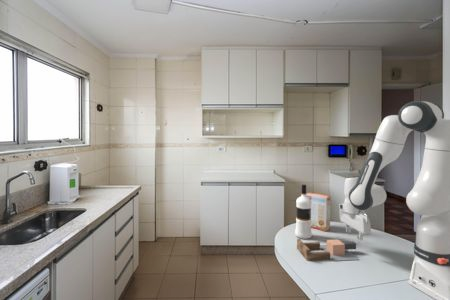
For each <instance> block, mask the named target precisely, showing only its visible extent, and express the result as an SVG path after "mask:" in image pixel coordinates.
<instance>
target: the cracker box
mask: <svg viewBox="0 0 450 300" xmlns="http://www.w3.org/2000/svg"><path fill="white" fill-rule="evenodd" d="M306 196H307V197H308V198H309V199H310V200H311V202H312V203H311V229H316V230H318V231H319V230H320V231H323V232H328V231H329V230H331V196H330V195H325V194H320V193H314V192H306Z"/></svg>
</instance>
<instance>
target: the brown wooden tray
mask: <svg viewBox="0 0 450 300" xmlns="http://www.w3.org/2000/svg"><path fill="white" fill-rule="evenodd" d="M320 245H321V243H320V242H319V241H316V242H315V241H313V242H310V241H309V242H303V240H301V238H297V239H296V249H297V251H298V252H299V253H300V254H301V255H302V256H303V258H304V259H305V260H306V261H320V260H321V261H323V260H324V259H325V260H331V257H330V252H324V251H316V252H315V251H314V252H311V251H312V250H320V249H321V248H320Z"/></svg>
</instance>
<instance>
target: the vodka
mask: <svg viewBox="0 0 450 300" xmlns="http://www.w3.org/2000/svg"><path fill="white" fill-rule="evenodd" d="M306 194H307V184H301V196H299V197H297V198H296V201H295V202H296V205H295V207H296V213H295V215H296V216H295V217H296V218H295V220H296V221H295V222H296V223H295V231H294V235H295V237H297V239H300V240H301V239H302V240H308V239H311V238H312V236H313V233H312V228H311V203H312V202H311V200H310V199H309V198H308V197H307V196H306Z"/></svg>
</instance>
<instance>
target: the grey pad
mask: <svg viewBox="0 0 450 300" xmlns="http://www.w3.org/2000/svg"><path fill="white" fill-rule="evenodd" d="M320 249H321V250H322V252H329V251H328V250H327V244H323V245H322V244H320ZM330 259H332V260H333V261H334V262H343V261H344V262H345V261H346V262H347V261H359V260H360V259H359V257H357V256H356V255H354V254H353V253H352V252H350V251H349V250H345V255H332V254H331V253H330Z"/></svg>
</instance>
